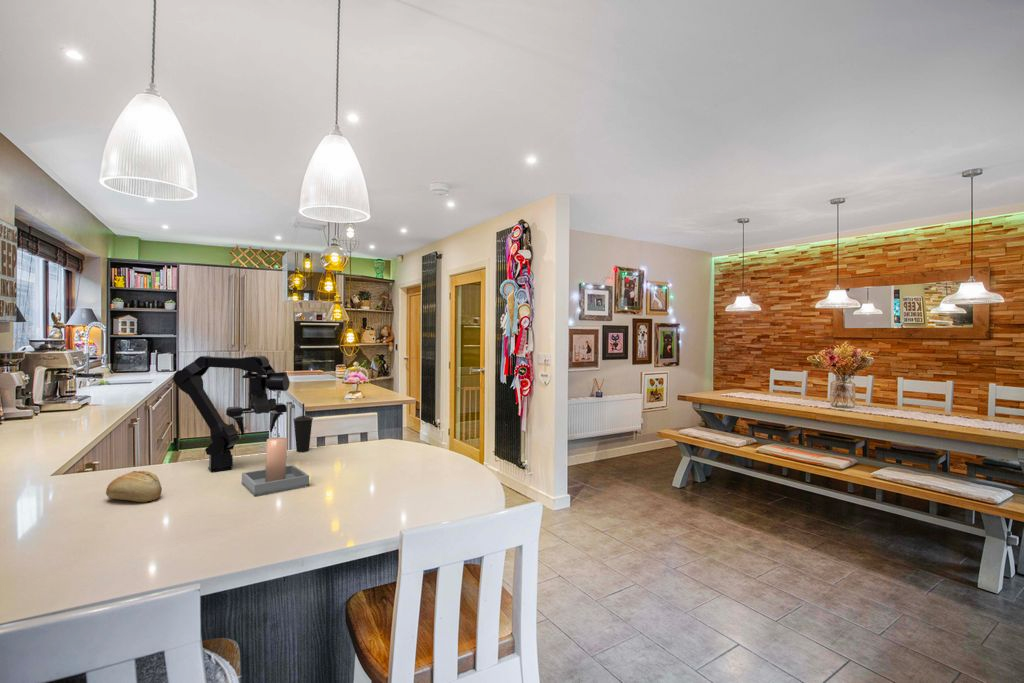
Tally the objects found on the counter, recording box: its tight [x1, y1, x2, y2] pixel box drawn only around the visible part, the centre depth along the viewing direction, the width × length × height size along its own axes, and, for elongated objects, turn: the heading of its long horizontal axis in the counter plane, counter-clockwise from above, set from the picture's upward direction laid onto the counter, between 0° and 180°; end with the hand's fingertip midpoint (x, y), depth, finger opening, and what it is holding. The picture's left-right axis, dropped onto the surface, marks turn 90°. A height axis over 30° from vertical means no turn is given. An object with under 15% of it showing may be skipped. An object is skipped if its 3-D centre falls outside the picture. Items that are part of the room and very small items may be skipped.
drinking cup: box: [292, 402, 314, 453], centre depth 199 cm, size 8×8×20 cm
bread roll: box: [105, 470, 163, 503], centre depth 139 cm, size 10×15×8 cm, turn 87°
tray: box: [241, 464, 310, 497], centre depth 154 cm, size 16×16×4 cm
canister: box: [265, 436, 288, 482], centre depth 154 cm, size 6×6×14 cm
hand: (257, 433), depth 171 cm, fingers open, 9 cm apart
